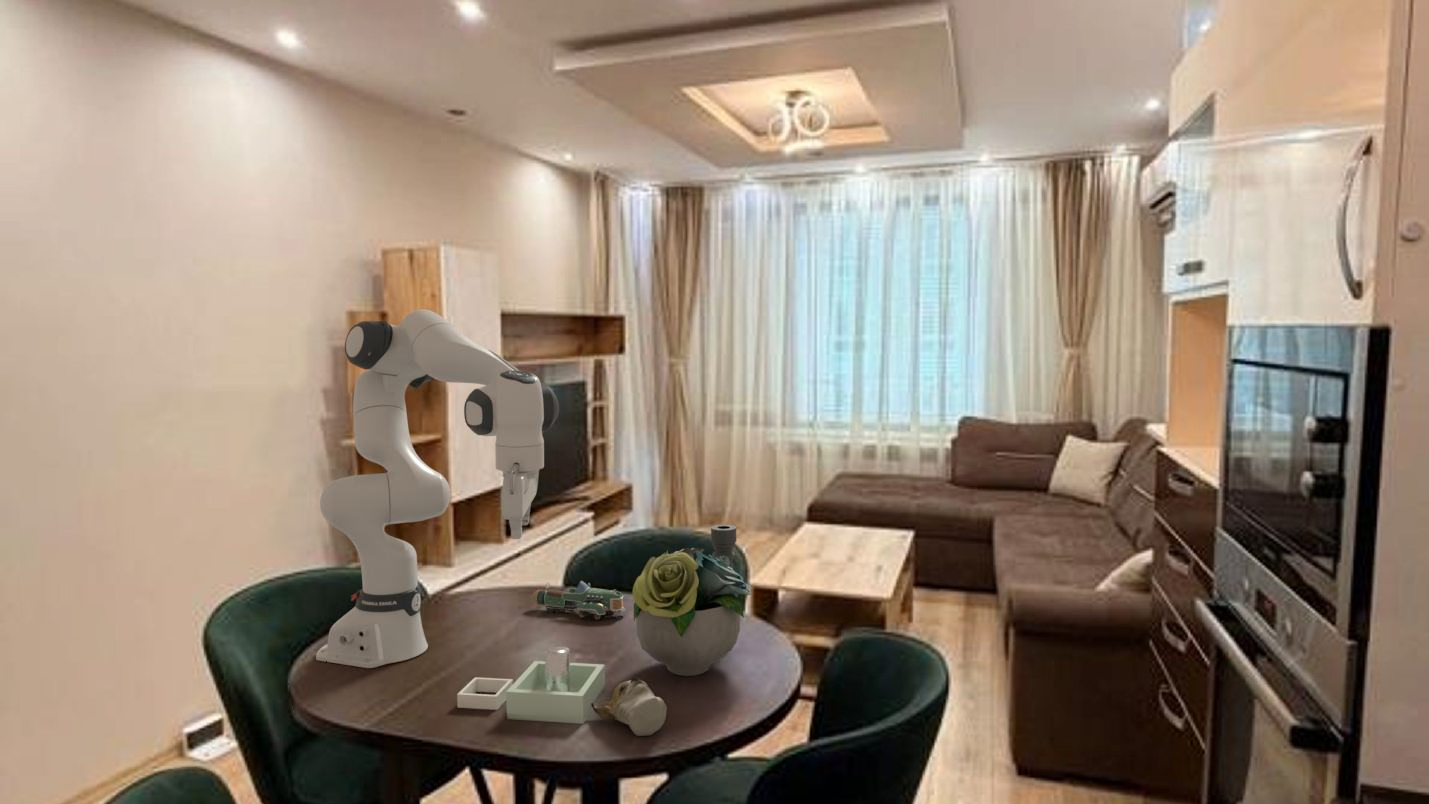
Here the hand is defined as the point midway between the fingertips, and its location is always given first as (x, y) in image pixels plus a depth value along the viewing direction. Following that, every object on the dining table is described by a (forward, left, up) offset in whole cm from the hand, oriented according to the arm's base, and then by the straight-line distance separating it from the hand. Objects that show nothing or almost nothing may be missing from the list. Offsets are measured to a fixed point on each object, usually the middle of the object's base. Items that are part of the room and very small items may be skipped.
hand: (520, 531), depth 154 cm
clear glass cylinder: (+8, -4, -30) cm, 31 cm away
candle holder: (+34, +34, -31) cm, 57 cm away
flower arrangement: (+29, +15, -31) cm, 45 cm away
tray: (+8, -4, -31) cm, 32 cm away
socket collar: (-6, -4, -31) cm, 32 cm away
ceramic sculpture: (+24, -10, -32) cm, 41 cm away
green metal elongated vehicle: (-4, +45, -32) cm, 55 cm away
